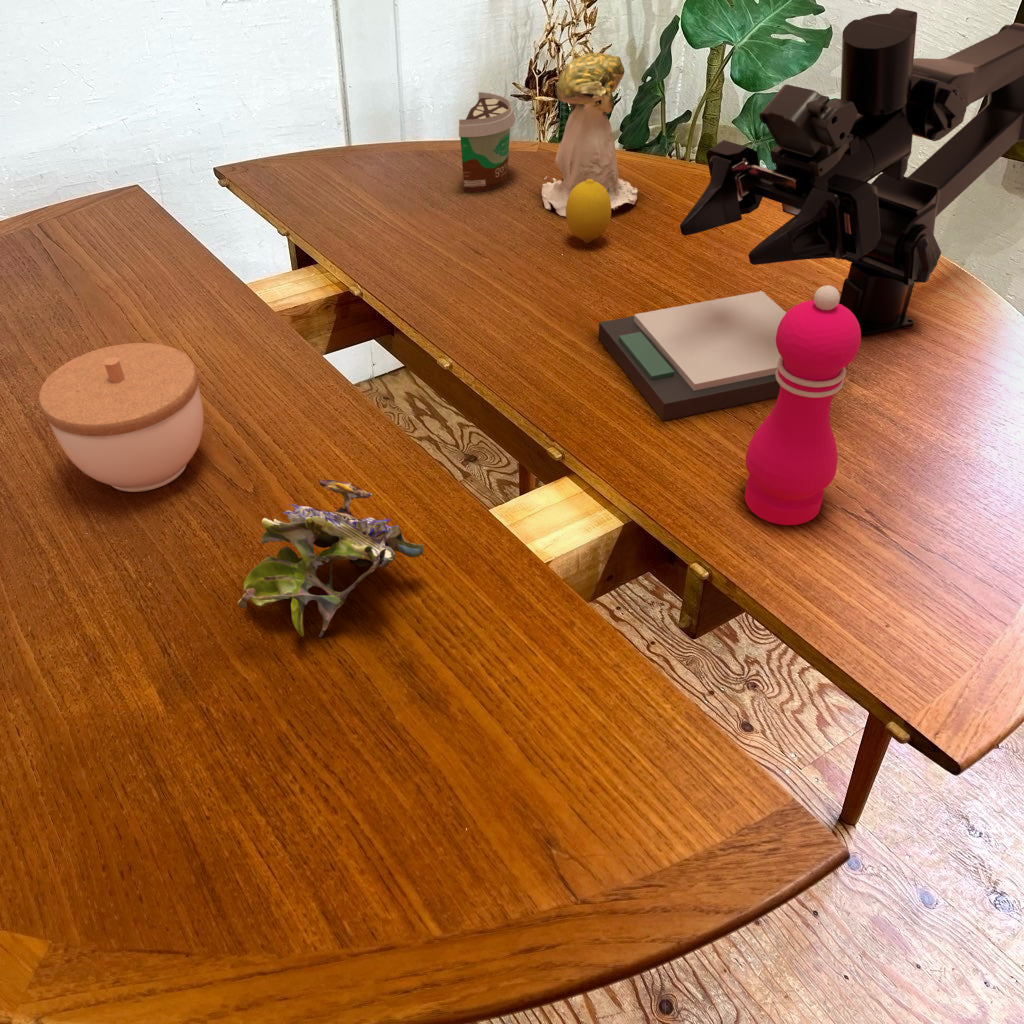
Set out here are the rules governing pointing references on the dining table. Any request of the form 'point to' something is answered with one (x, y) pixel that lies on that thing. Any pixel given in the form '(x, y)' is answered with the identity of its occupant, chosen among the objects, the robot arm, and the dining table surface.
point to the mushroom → (588, 132)
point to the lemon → (588, 210)
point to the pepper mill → (802, 411)
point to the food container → (486, 143)
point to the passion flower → (321, 554)
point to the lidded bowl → (126, 414)
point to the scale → (699, 353)
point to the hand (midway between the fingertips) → (714, 244)
